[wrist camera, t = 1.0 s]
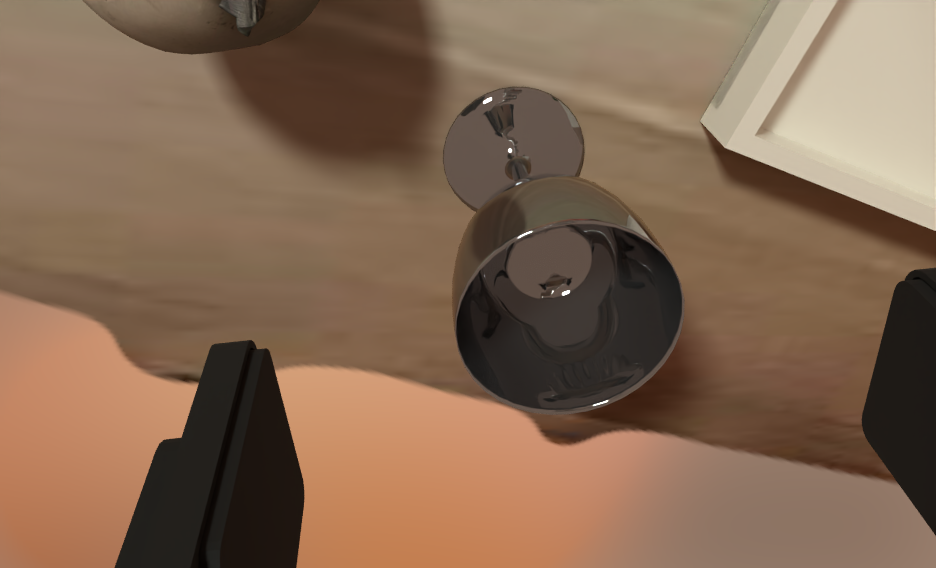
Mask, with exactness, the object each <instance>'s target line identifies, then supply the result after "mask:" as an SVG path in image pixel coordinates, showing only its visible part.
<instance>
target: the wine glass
mask: <svg viewBox="0 0 936 568" xmlns="http://www.w3.org/2000/svg"><path fill="white" fill-rule="evenodd" d="M583 158H584V139H583V135H582V131H581V128H580V125H579V123H578V121H577V119H576V117H575V116H574V115H573V113H572V112H571V111H570V109H569V108H568V107H567V106H566V105H565V104H564V103H563V102H561V101H560V100H559V99H557V98H556V97H554V96H552V95H551V94H549V93H546V92H544V91H541V90H539V89H534V88H529V87H508V88H502V89H498V90H495V91H492V92H489V93H487V94H485V95H483V96H481V97H479V98H477V99H476V100H474V101H473V102H472V103H471V104H469V105H468V106H467V107H466V108H465V109H464V110H463V111H462V112H461V113H460V114H459V115H458V116H457V118H456V119H455V121H454V123H453V124H452V126H451V127H450V130H449V132H448V135H447V137H446V141H445V145H444V150H443V164H444V170H445V174H446V177H447V180H448V182H449V185H450V186H451V188H452V190H453V191H454V193H455V194H456V195H457V197H458V198H459V199H460V200H461V201H462V202H463V203H464V204H466V205H467V206H468V207H469V208H471V209H472V210H474V211H476V213H475V214H474V216H473V217H472V219H471V220H470V222H469V223H468V226H467V228H466V230H465V232H464V234H463V237H462V240H461V243H460V246H459V249H458V253H457V257H456V261H455V267H454V273H453V280H452V312H453V322H454V330H455V336H456V341H457V347H458V351H459V354H460V356H461V359H462V361H463V364H464V366H465V368H466V369H467V371H468V372H469V374H470V375H471V377H472V378H473V380H474V381H475V382H476V383H477V384H478V385H479V386H480V387H481V388H482V389H483V390H484V391H485V392H487V393H488V394H490V395H491V396H493V397H494V398H496V399H497V400H499V401H501V402H503V403H505V404H507V405H510V406H512V407H514V408H517V409H521V410H525V411H528V412H532V413H541V414H549V415H554V414H573V413H579V412H585V411H590V410H593V409H596V408H600V407H603V406H606V405H608V404H611V403H613V402H615V401H617V400H620V399H622V398H624V397H625V396H627V395H628V394H630V393H632V392H633V391H635V390H637V389H638V388H639V387H641V386H642V385H643V384H644V383H645V382H647V381H648V380H649V379H650V378H651V377H653V375H654V374H655V373H656V372H657V371H658V370H659V369H660V368H661V367H662V366H663V364H664V363H665V362H666V360H667V359H668V357H669V355H670V354H671V352H672V351H673V349H674V347H675V345H676V343H677V340H678V338H679V336H680V333H681V329H682V324H683V320H684V296H683V291H682V286H681V283H680V281H679V278H678V276H677V274H676V272H675V269H674V267H673V265H672V263H671V261H670V259H669V258H668V256H667V254H666V252H665V251H664V249H663V248H662V246H661V245H660V243H659V242H658V241H657V239H656V238H655V236H654V235H653V234H652V232H651V231H650V229H649V228H648V227H647V225H646V224H645V223H644V221H643V220H642V219H641V218H640V217H639V216H638V215H637V214H636V213H635V212H634V211H633V210H632V209H630V208H629V207H628V206H627V205H626V204H625V203H624V202H623V201H622V200H620V199H619V198H618V197H617V196H615V195H614V194H612V193H611V192H609V191H608V190H606V189H604V188H603V187H601V186H599V185H598V184H596V183H594V182H592V181H589V180H586V179H583V178H580V177H578V176H579V174H580V170H581V167H582V164H583Z"/></svg>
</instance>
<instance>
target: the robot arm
mask: <svg viewBox="0 0 936 568" xmlns="http://www.w3.org/2000/svg"><path fill="white" fill-rule="evenodd" d="M862 427H863V431H864V434H865V437H866V438H867V440H868V442H869V443H870V445H871V446H872V447H873V449H874V450H875V452H876V453H877V454H878V456H879V457H880V459H881V460H882V461H883V463H884V464H885V465H886V467H887V468H888V470H889V471H890V472H891V474H892V475H893V477H894V478H895V479H896V481H897V482H898V484H899V485H900V486H901V488H902V489H903V490H904V492H905V493H906V495H907V496H908V497H909V499H910V500H911V502H912V503H913V505H914V506H915V507H916V509H917V510H918V511H919V513H920V514H921V515H922V517H923V518H924V520H925V521H926V523H927V524H928V525H929V527H930V528H931V529H932V531H933V532H934V534H935V535H936V268H929V269H919V270H914V271H911V272H910V273H909V274H908V275H907V276H906V278H905V281H901V282H899V283H898V284H897V285H896V287H895V290H894V293H893V297H892V301H891V305H890V309H889V313H888V317H887V321H886V325H885V328H884V332H883V336H882V340H881V344H880V348H879V352H878V356H877V360H876V364H875V367H874V371H873V375H872V379H871V383H870V387H869V391H868V395H867V399H866V402H865V406H864V410H863V414H862ZM303 508H304V484H303V478H302V474H301V470H300V466H299V462H298V458H297V454H296V451H295V447H294V443H293V439H292V435H291V431H290V427H289V424H288V420H287V416H286V412H285V408H284V404H283V401H282V397H281V393H280V389H279V385H278V381H277V377H276V374H275V370H274V366H273V362H272V358H271V355H270V352H269V350H268V349H257V348H256V345H255V343H254V342H253V341H252V340H248V341H238V342H229V343H219V344H214V345H212V346H211V348H210V350H209V354H208V357H207V360H206V363H205V366H204V369H203V372H202V375H201V379H200V382H199V385H198V388H197V391H196V394H195V397H194V401H193V404H192V407H191V410H190V413H189V416H188V419H187V423H186V425H185V429H184V432H183V435H182V438H175V439H166V440H163V441H162V442H161V443H160V444H159V446H158V448H157V450H156V452H155V454H154V457H153V460H152V463H151V466H150V469H149V472H148V474H147V477H146V480H145V483H144V486H143V489H142V491H141V494H140V497H139V500H138V503H137V506H136V508H135V511H134V514H133V517H132V520H131V523H130V525H129V528H128V531H127V534H126V537H125V540H124V543H123V545H122V548H121V551H120V554H119V557H118V560H117V563H116V565H115V568H296V565H297V557H298V549H299V541H300V532H301V523H302V516H303Z"/></svg>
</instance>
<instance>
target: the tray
mask: <svg viewBox="0 0 936 568" xmlns="http://www.w3.org/2000/svg"><path fill="white" fill-rule="evenodd" d="M700 122H701V123H702V124H703V125H704V126H705V127H706V128H707V129H708V130H709V131H710V132H711V133H712V134H713V136H714V137H715V138H716V139H717V140H718V141H719V142H720V143H721V144H722V145H723V146H724V147H725V148H727V149H729V150H732V151H734V152H737V153H739V154H742V155H745V156H747V157H750V158H752V159H755V160H757V161H760V162H762V163H765V164H767V165H770V166H772V167H775V168H777V169H780V170H783V171H785V172H788V173H790V174H793V175H795V176H798V177H800V178H803V179H805V180H808V181H810V182H813V183H815V184H818V185H820V186H823V187H826V188H828V189H831V190H833V191H836V192H838V193H841V194H843V195H846V196H848V197H851V198H853V199H856V200H858V201H861V202H863V203H866V204H869V205H871V206H874V207H876V208H879V209H881V210H884V211H886V212H889V213H891V214H894V215H896V216H899V217H901V218H904V219H906V220H909V221H912V222H914V223H917V224H919V225H922V226H924V227H927V228H929V229H932V230H934V231H936V0H769V2H768V4H767V5H766V7H765V9H764V11H763V12H762V14H761V16H760V18H759V19H758V21H757V23H756V25H755V26H754V28H753V30H752V31H751V33H750V35H749V37H748V38H747V40H746V42H745V44H744V45H743V47H742V49H741V51H740V52H739V54H738V56H737V58H736V59H735V61H734V63H733V65H732V66H731V68H730V70H729V72H728V73H727V75H726V77H725V79H724V80H723V82H722V84H721V86H720V87H719V89H718V91H717V93H716V94H715V96H714V98H713V100H712V101H711V103H710V105H709V107H708V108H707V110H706V112H705V114H704V115H703V117H702V119H701V120H700Z"/></svg>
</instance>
